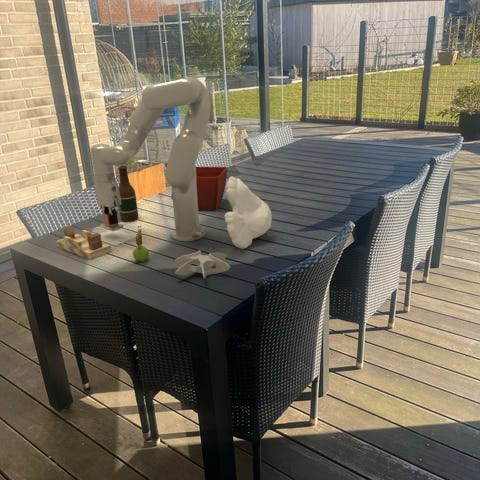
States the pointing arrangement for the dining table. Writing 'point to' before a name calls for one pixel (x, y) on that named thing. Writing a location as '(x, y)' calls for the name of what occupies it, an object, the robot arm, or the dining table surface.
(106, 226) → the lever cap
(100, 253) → the body
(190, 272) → the sculpture
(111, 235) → the mat
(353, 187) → the dining table surface
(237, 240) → the white bear figurine
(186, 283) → the dining table surface
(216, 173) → the plant pot
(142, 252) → the snail figurine
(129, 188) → the beer bottle
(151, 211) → the dining table surface
